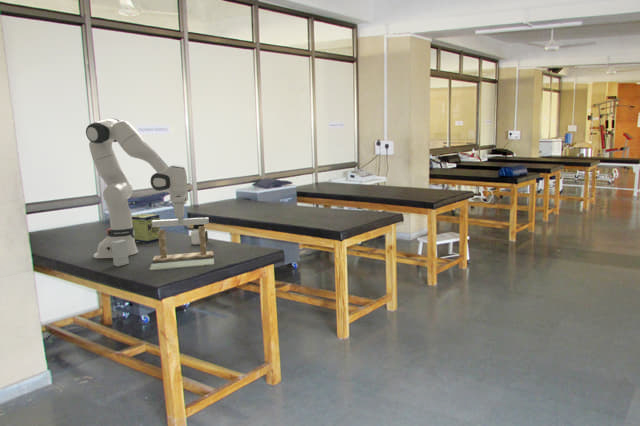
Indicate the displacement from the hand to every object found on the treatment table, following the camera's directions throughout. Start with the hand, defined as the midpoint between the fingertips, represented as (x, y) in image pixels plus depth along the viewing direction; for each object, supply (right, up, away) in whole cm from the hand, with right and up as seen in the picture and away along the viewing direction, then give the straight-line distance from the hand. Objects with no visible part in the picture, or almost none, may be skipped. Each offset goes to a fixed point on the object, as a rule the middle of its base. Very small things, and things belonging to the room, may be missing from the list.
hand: (180, 223), depth 263 cm
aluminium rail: (0, -1, 0) cm, 1 cm away
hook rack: (+1, -17, +3) cm, 18 cm away
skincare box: (-27, -20, -8) cm, 35 cm away
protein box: (-34, -11, +48) cm, 60 cm away
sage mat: (+4, -20, -13) cm, 24 cm away
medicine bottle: (+2, -12, +35) cm, 37 cm away
